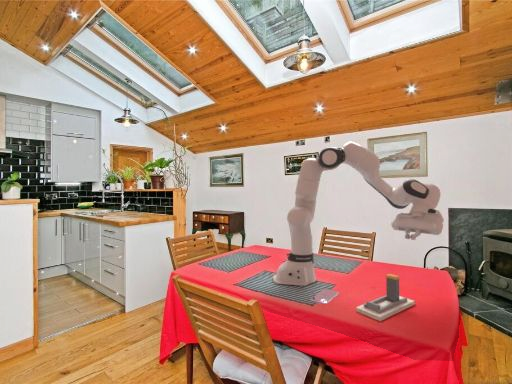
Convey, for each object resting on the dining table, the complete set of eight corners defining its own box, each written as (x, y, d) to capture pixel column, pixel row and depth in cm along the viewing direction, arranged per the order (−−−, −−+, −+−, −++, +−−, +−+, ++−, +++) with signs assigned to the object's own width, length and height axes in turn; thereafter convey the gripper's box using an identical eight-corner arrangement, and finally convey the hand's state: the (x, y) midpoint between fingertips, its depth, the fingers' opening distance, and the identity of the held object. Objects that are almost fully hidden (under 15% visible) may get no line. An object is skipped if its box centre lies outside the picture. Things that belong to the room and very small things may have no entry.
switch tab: (389, 297, 115) (389, 273, 115) (399, 300, 111) (399, 276, 111) (386, 299, 113) (385, 274, 113) (396, 302, 110) (395, 277, 110)
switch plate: (391, 296, 120) (390, 287, 120) (414, 304, 112) (414, 294, 112) (356, 311, 107) (355, 301, 107) (379, 321, 99) (379, 310, 99)
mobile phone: (339, 291, 126) (326, 302, 114) (339, 293, 126) (326, 305, 114) (324, 288, 131) (309, 298, 119) (324, 290, 131) (309, 300, 119)
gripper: (395, 208, 132) (383, 231, 127) (443, 211, 115) (432, 237, 110) (400, 217, 134) (389, 239, 129) (448, 220, 117) (437, 246, 112)
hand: (409, 238), depth 119 cm, fingers closed
